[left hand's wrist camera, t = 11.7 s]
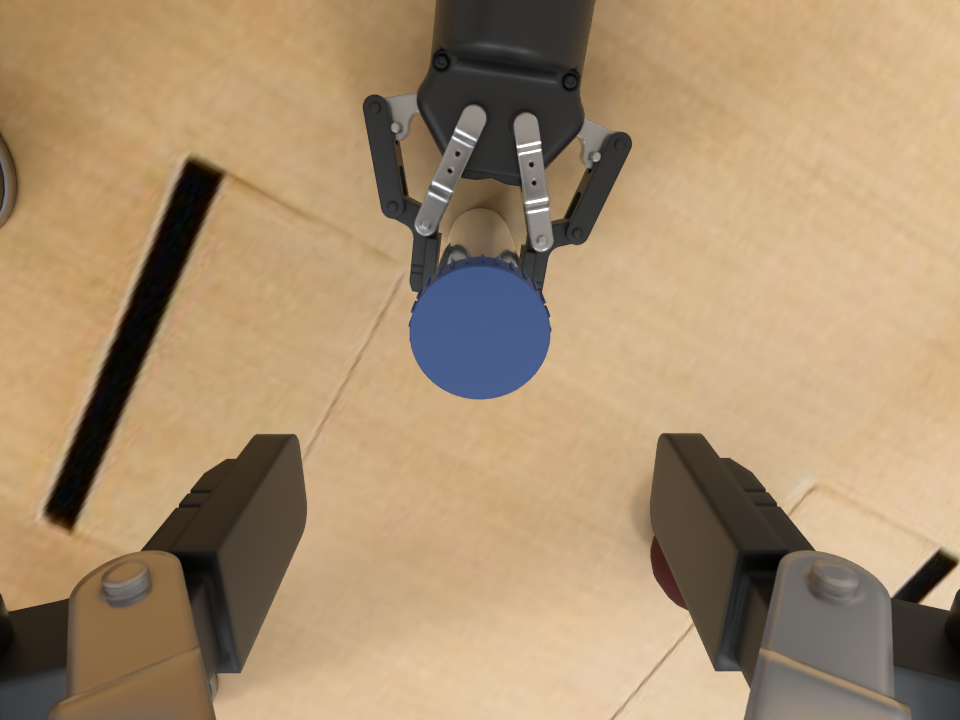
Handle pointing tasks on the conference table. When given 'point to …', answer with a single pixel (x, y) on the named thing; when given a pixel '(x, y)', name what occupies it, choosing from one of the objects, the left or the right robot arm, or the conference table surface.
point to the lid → (480, 328)
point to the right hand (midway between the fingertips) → (473, 305)
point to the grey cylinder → (480, 238)
